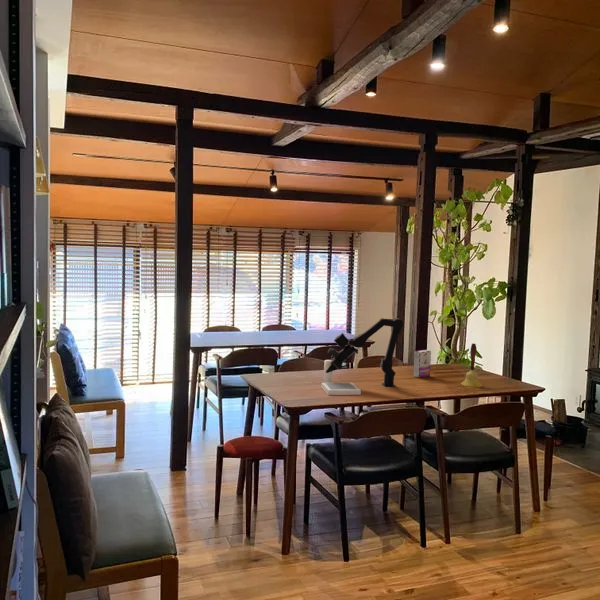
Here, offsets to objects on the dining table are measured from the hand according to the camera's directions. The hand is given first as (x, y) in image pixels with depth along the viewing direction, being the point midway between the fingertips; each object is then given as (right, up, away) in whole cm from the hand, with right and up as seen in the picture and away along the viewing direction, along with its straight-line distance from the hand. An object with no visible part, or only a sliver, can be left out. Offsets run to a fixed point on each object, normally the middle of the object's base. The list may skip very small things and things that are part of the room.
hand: (325, 371), depth 326 cm
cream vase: (+1, -7, 0) cm, 7 cm away
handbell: (+88, -10, +10) cm, 89 cm away
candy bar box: (+62, -7, +30) cm, 69 cm away
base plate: (+7, -8, -18) cm, 21 cm away
